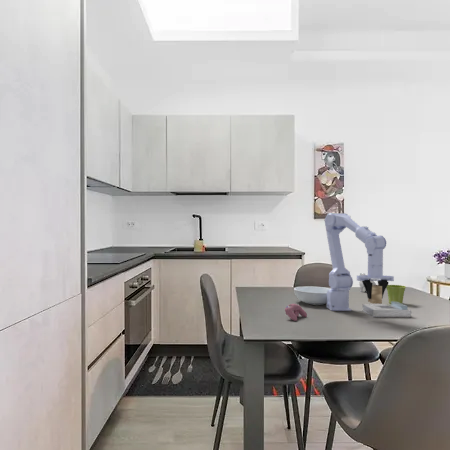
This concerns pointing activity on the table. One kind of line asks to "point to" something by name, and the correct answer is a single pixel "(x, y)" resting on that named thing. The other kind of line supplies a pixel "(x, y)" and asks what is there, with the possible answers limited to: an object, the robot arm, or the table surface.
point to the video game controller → (295, 311)
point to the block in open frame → (387, 310)
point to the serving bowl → (312, 294)
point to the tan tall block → (376, 295)
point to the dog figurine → (362, 283)
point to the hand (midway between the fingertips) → (374, 298)
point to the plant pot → (395, 293)
